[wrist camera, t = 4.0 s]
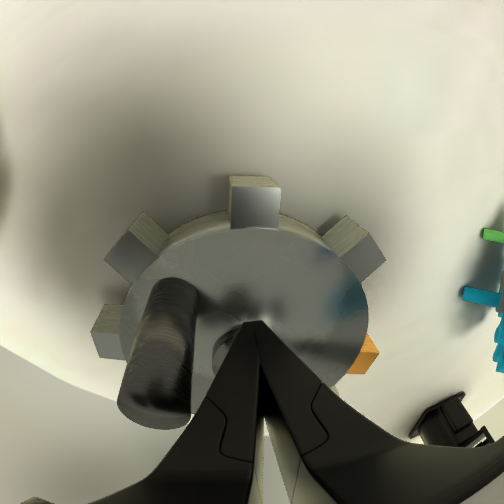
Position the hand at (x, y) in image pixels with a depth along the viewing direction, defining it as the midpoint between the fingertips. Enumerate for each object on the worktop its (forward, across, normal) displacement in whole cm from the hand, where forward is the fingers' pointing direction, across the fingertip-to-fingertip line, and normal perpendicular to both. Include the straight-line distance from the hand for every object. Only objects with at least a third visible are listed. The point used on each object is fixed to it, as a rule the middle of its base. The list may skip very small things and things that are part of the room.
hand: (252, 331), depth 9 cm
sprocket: (+5, 0, +3) cm, 6 cm away
